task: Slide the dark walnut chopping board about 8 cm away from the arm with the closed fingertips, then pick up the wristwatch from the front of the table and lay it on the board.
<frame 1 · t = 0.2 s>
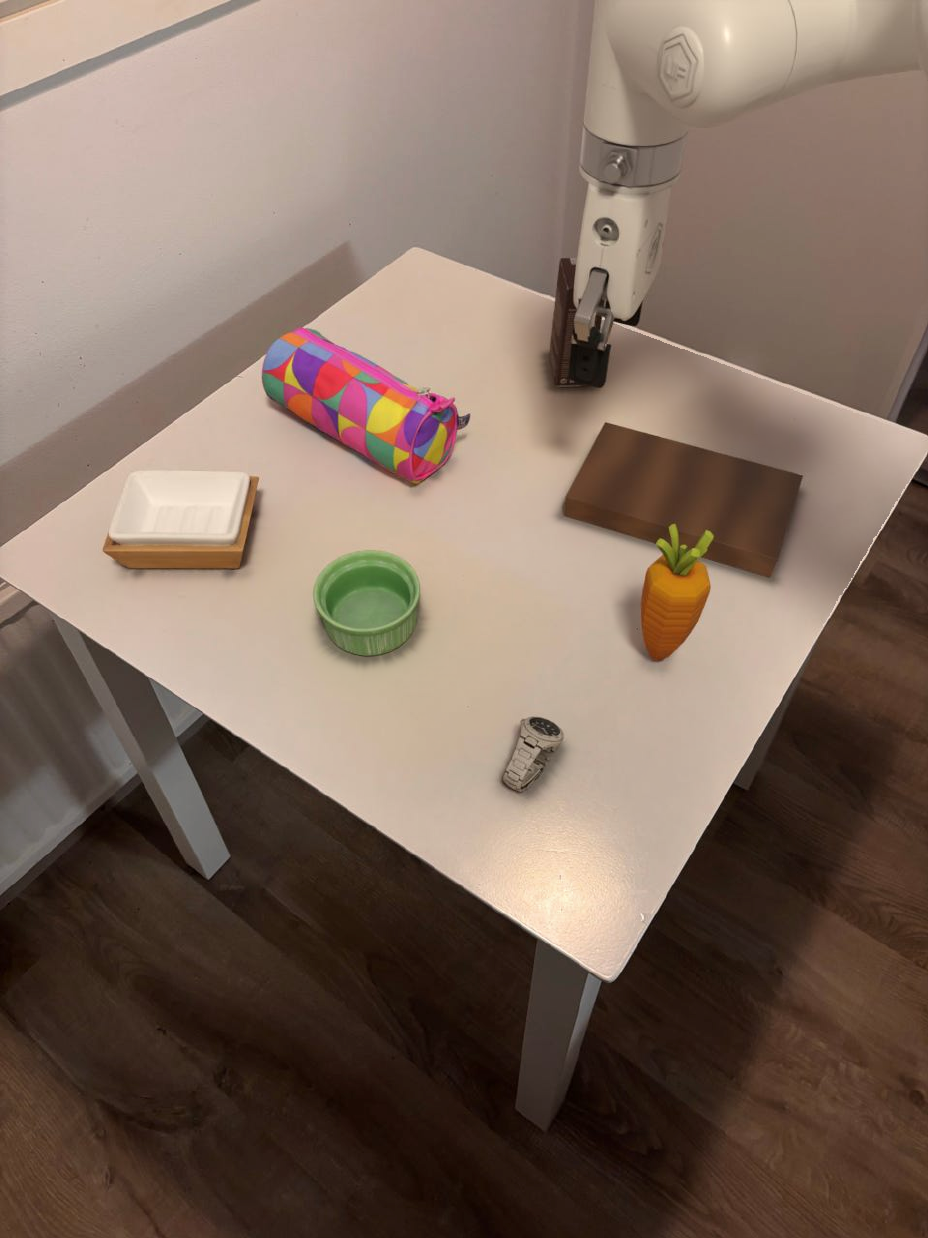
hand: (604, 350, 79), 14 cm above the table, tool pointing down, fingers open, 9 cm apart
soap dish: (193, 541, 85), on the table
wristwatch: (529, 769, 70), on the table
box: (570, 372, 101), on the table
ramekin: (371, 622, 79), on the table
carrot: (656, 659, 76), on the table
cutting board: (680, 504, 87), on the table
pencil case: (366, 436, 94), on the table
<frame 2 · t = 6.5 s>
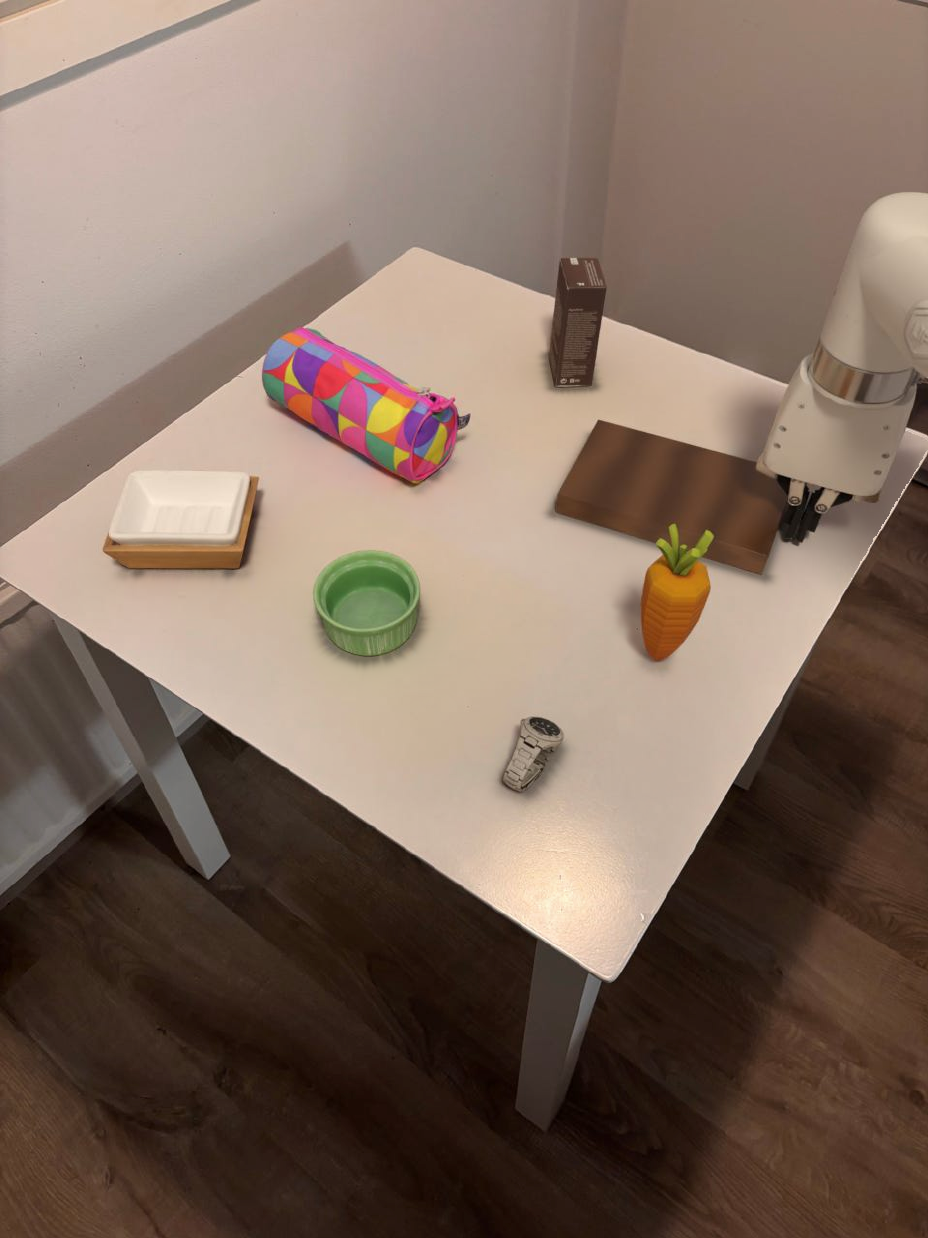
hand: (796, 530, 84), 1 cm above the table, tool pointing down, fingers closed
cutting board: (673, 501, 88), on the table, touching gripper
everything else where it was.
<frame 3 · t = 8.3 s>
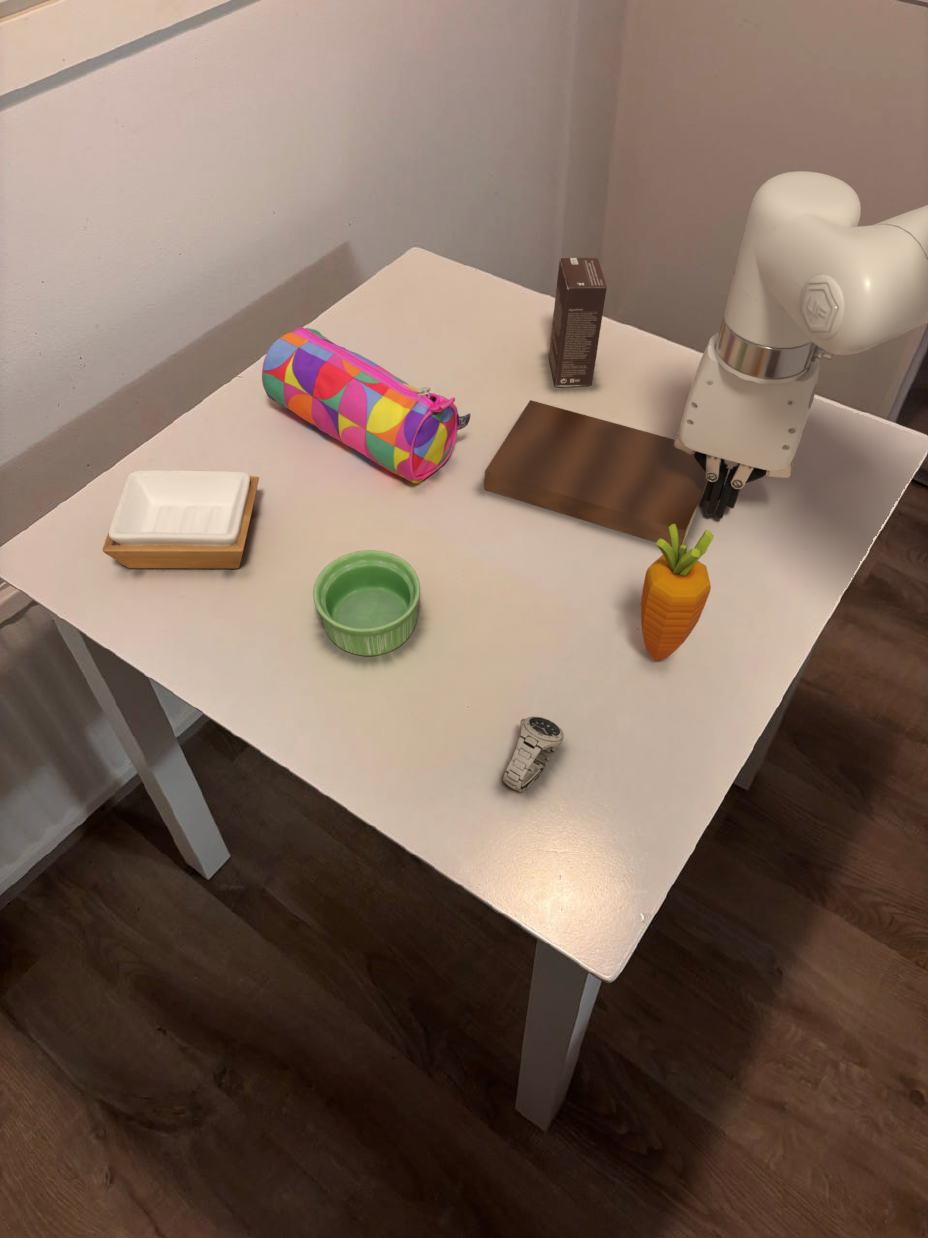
hand: (717, 507, 86), 1 cm above the table, tool pointing down, fingers closed
cutting board: (599, 480, 90), on the table, touching gripper
everything else where it was.
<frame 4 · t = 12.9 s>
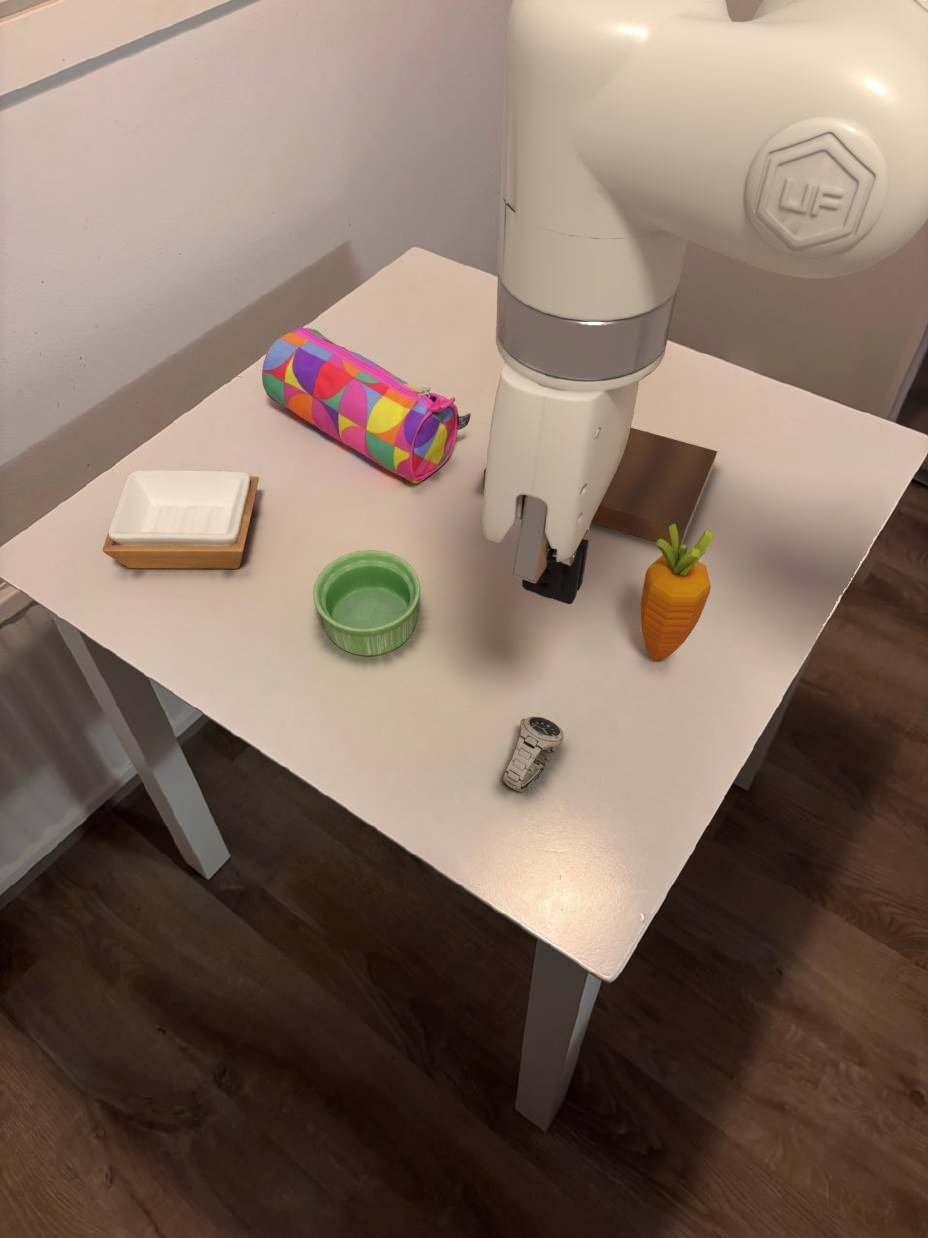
hand: (551, 587, 53), 21 cm above the table, tool pointing down, fingers closed
cutting board: (598, 479, 90), on the table
everything else where it was.
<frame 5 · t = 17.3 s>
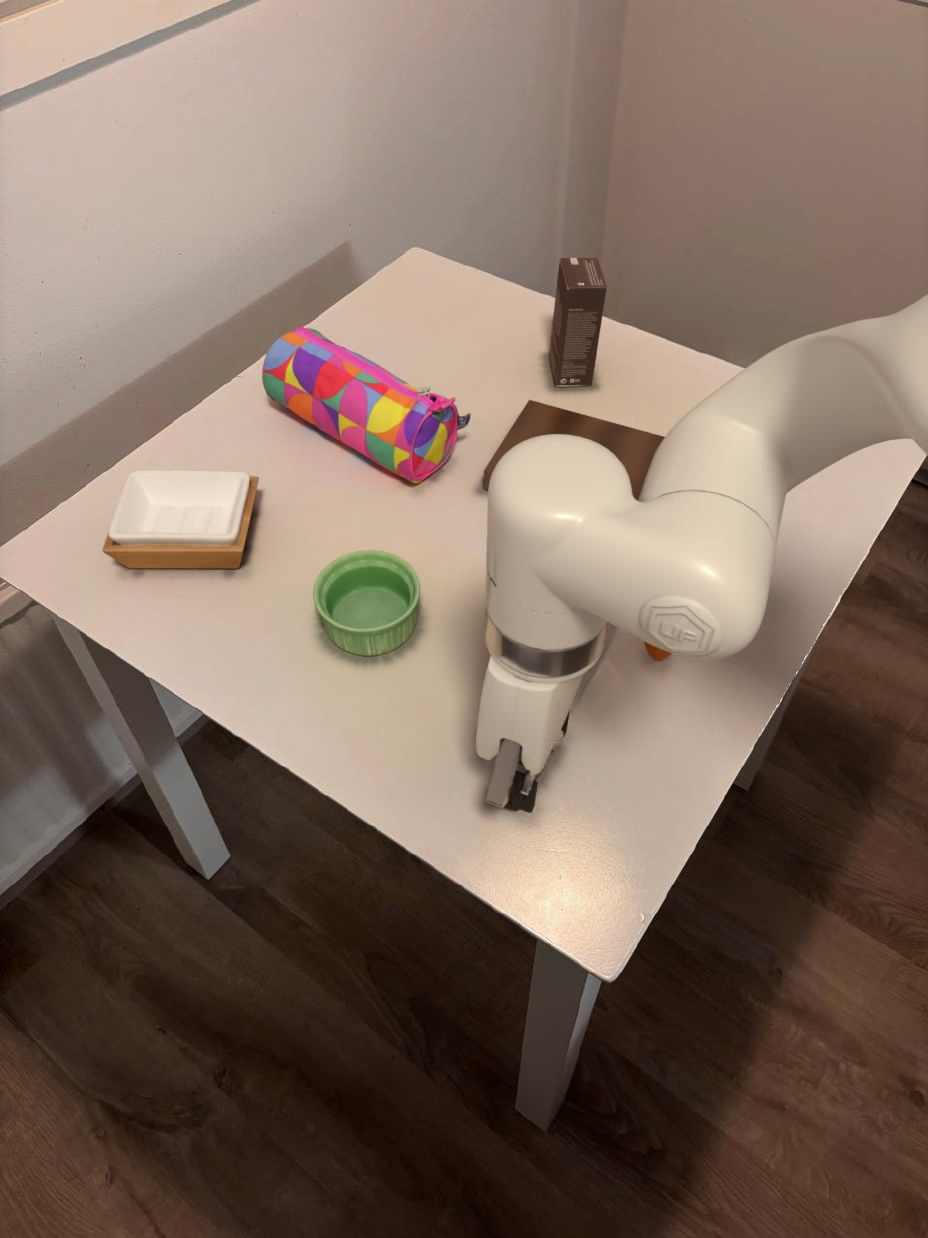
hand: (530, 764, 69), 1 cm above the table, tool pointing down, fingers closed on wristwatch, 6 cm apart
wristwatch: (529, 769, 70), on the table, touching gripper
everything else where it was.
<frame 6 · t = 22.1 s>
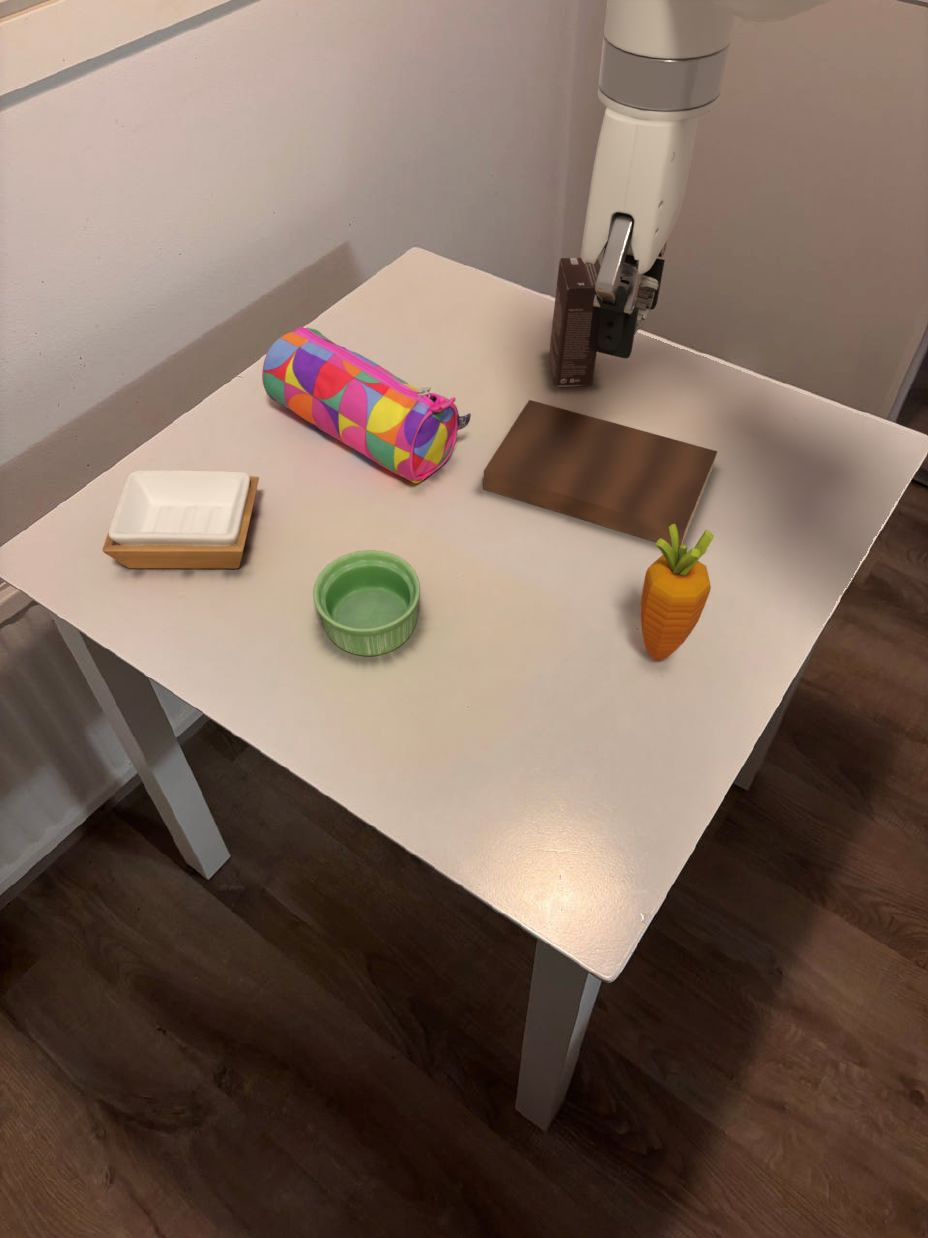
hand: (623, 325, 69), 22 cm above the table, tool pointing down, fingers closed on wristwatch, 6 cm apart
wristwatch: (621, 335, 70), point 21 cm above the table, touching gripper
everything else where it was.
when the fingers open (3 cm above the table, at t = 27.2 s): wristwatch stays where it is, resting on cutting board.
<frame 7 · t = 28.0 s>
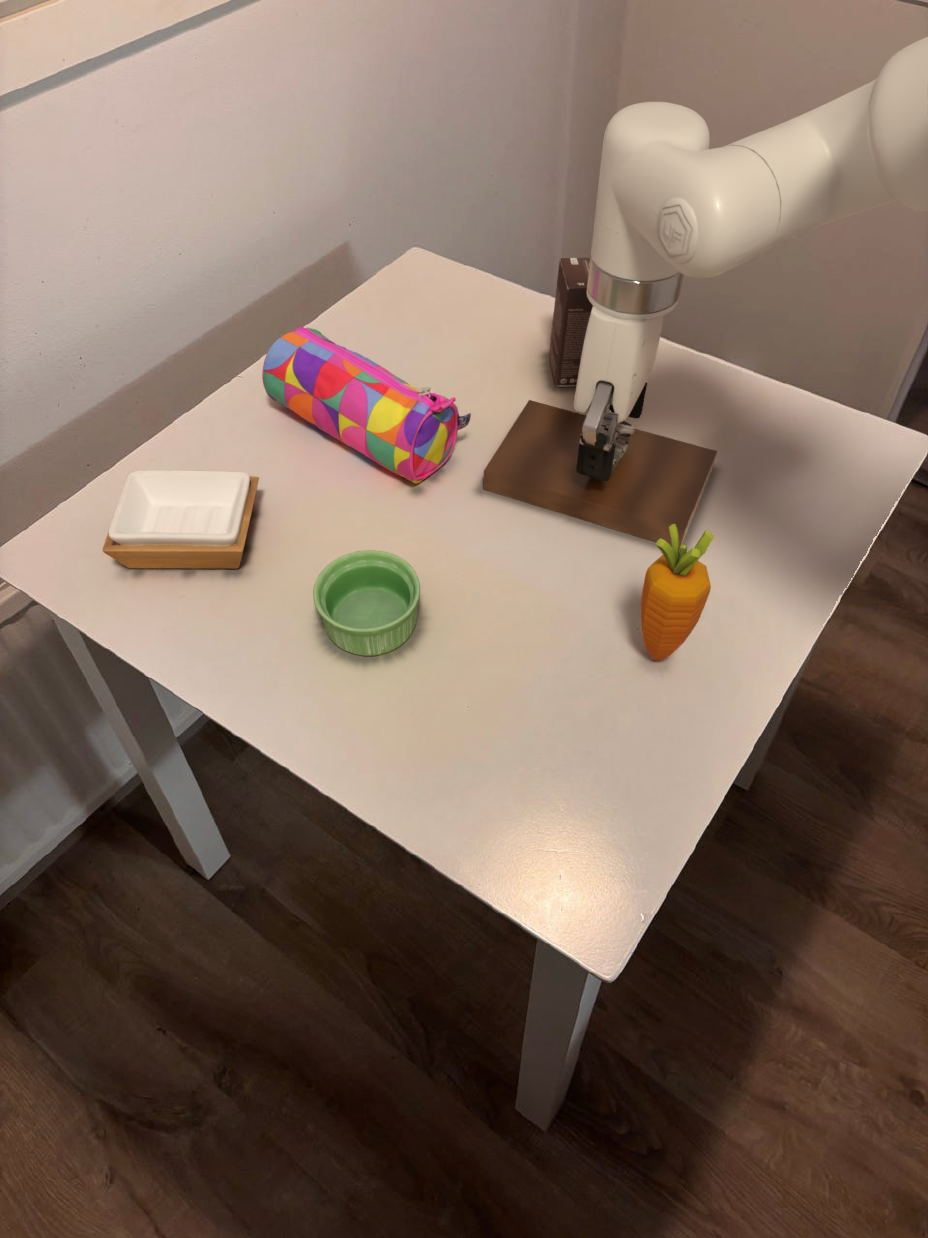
hand: (609, 443, 85), 5 cm above the table, tool pointing down, fingers open, 9 cm apart
wristwatch: (605, 464, 88), point 2 cm above the table, touching cutting board
cutting board: (598, 479, 90), on the table, touching wristwatch
everything else where it was.
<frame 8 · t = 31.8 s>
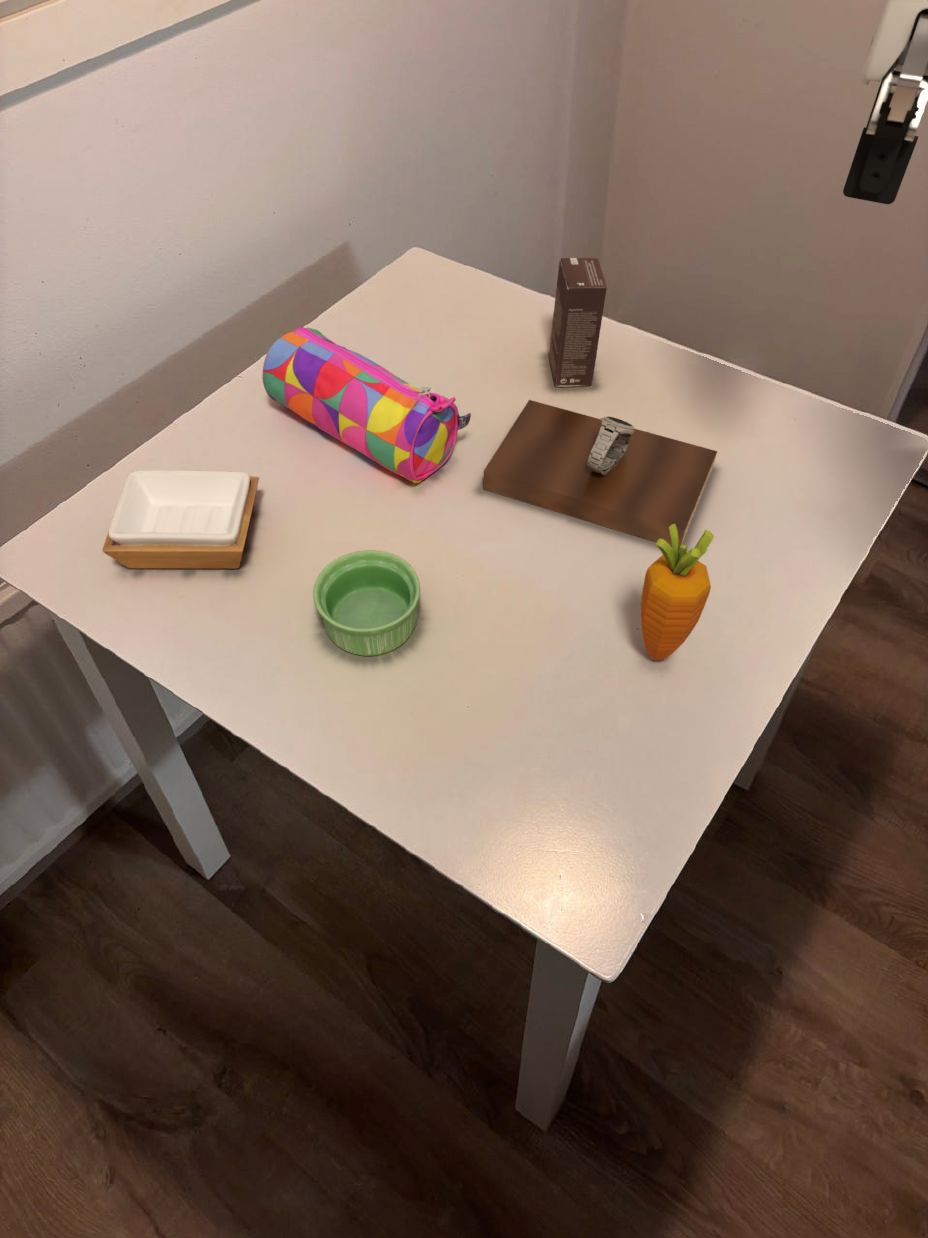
hand: (878, 165, 60), 33 cm above the table, tool pointing down, fingers open, 9 cm apart
nothing on the table moved.
at the end: cutting board inside the target area (0.5 cm from its centre), on the table; wristwatch inside the target area on the cutting board (0.5 cm from its centre), point 2.3 cm above the cutting board's base; the gripper is holding nothing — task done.
